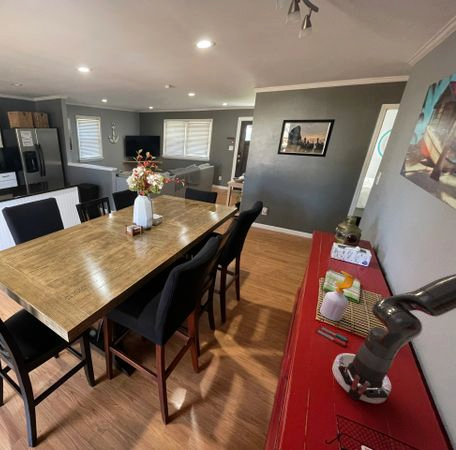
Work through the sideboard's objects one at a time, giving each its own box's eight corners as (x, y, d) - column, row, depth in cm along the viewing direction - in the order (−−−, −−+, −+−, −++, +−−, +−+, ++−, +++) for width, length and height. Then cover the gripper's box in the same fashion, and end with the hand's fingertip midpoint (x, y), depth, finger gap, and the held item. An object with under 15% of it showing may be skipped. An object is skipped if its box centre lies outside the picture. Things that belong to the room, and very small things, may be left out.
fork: (346, 340, 104) (347, 338, 104) (345, 342, 103) (346, 340, 103) (322, 327, 111) (322, 325, 110) (321, 329, 110) (321, 327, 109)
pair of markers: (344, 344, 102) (345, 342, 102) (344, 346, 101) (344, 345, 101) (318, 330, 109) (319, 328, 108) (317, 332, 108) (317, 330, 107)
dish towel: (359, 284, 143) (362, 279, 142) (359, 304, 126) (362, 298, 125) (326, 273, 153) (327, 268, 152) (321, 290, 136) (323, 285, 135)
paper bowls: (322, 362, 94) (328, 348, 91) (366, 372, 91) (374, 357, 88) (340, 403, 80) (349, 387, 77) (393, 415, 77) (404, 399, 74)
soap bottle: (315, 308, 122) (330, 267, 112) (331, 307, 123) (347, 267, 114) (328, 322, 114) (346, 279, 104) (346, 320, 115) (364, 278, 105)
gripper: (404, 368, 70) (380, 406, 76) (349, 339, 79) (332, 375, 85) (401, 384, 65) (376, 423, 72) (343, 351, 74) (325, 388, 81)
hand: (352, 397), depth 78 cm, fingers closed
